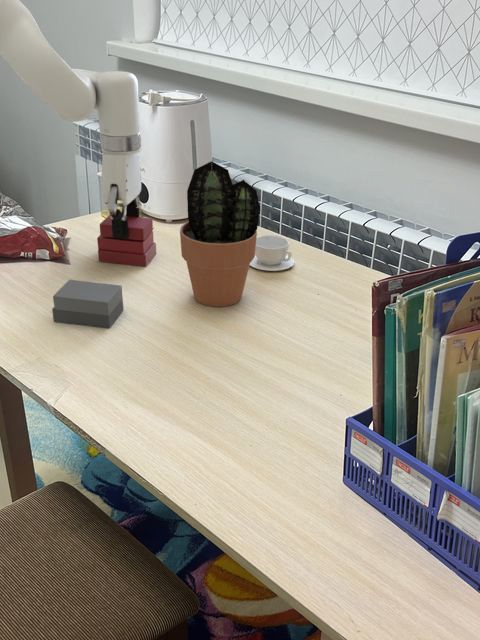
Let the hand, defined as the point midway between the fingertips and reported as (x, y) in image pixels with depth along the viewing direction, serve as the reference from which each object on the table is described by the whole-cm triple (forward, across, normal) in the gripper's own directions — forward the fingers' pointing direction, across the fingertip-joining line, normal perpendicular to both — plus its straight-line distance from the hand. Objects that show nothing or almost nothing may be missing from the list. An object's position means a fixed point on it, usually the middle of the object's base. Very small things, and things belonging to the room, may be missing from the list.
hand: (126, 231), depth 140 cm
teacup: (+6, -5, +29) cm, 30 cm away
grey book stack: (+6, +26, +2) cm, 27 cm away
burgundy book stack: (+6, 0, 0) cm, 6 cm away
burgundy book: (0, 0, 0) cm, 0 cm away
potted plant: (+6, +13, +22) cm, 26 cm away
